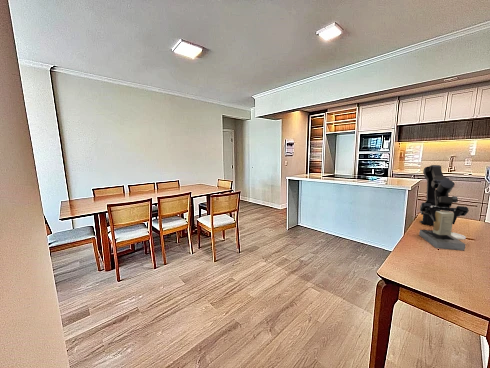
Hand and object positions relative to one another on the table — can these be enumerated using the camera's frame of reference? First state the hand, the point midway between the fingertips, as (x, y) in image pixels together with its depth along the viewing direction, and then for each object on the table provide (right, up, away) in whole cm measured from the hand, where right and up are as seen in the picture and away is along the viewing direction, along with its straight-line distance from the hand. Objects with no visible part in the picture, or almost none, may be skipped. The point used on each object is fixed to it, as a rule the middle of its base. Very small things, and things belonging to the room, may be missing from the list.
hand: (444, 222), depth 111 cm
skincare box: (+1, -6, +3) cm, 7 cm away
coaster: (+16, -10, +11) cm, 22 cm away
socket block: (+1, -11, +3) cm, 12 cm away
